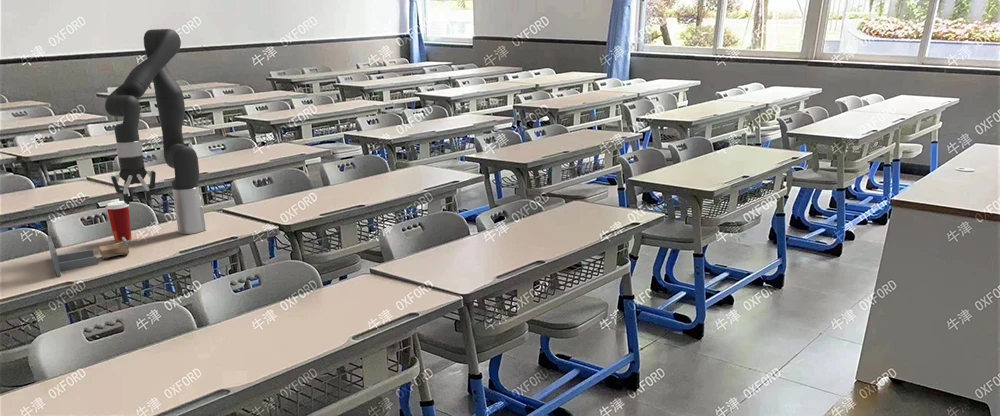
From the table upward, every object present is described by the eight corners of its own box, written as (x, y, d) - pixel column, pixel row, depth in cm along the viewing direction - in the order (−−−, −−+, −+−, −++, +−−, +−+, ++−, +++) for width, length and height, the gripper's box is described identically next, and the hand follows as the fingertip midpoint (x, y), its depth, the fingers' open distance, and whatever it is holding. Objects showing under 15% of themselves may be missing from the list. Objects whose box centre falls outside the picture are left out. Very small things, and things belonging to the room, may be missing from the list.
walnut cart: (126, 251, 248) (124, 236, 246) (129, 256, 243) (127, 240, 242) (100, 256, 243) (98, 241, 242) (103, 260, 239) (100, 245, 237)
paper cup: (139, 236, 266) (133, 200, 263) (126, 242, 259) (120, 205, 255) (119, 236, 267) (113, 200, 263) (106, 242, 260) (100, 205, 256)
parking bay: (91, 251, 249) (87, 229, 247) (100, 268, 230) (96, 245, 228) (51, 258, 243) (47, 236, 241) (57, 277, 224) (52, 253, 222)
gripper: (151, 150, 247) (158, 197, 251) (104, 155, 239) (112, 204, 243) (155, 153, 241) (162, 201, 245) (108, 158, 233) (116, 208, 237)
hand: (137, 202), depth 244 cm, fingers open, 5 cm apart
